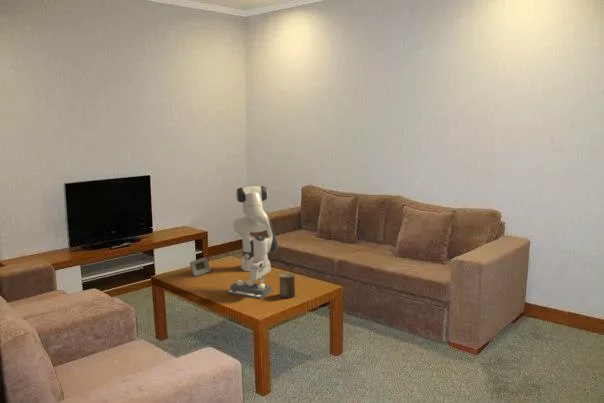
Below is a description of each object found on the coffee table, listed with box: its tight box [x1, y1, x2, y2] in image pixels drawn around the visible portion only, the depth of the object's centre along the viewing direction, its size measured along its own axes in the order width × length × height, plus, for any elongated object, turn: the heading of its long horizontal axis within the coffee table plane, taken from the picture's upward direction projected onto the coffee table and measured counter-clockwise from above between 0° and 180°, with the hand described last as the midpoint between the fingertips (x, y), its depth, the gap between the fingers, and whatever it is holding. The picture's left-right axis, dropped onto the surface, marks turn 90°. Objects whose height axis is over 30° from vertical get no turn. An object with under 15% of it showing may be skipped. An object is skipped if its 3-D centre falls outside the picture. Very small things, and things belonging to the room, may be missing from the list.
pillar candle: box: [278, 272, 296, 299], centre depth 307 cm, size 10×10×15 cm
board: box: [226, 281, 273, 300], centre depth 314 cm, size 15×25×4 cm, turn 65°
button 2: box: [246, 278, 255, 287], centre depth 315 cm, size 4×4×4 cm
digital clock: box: [189, 256, 211, 277], centre depth 353 cm, size 16×9×11 cm, turn 133°
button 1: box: [236, 279, 244, 286], centre depth 318 cm, size 4×4×4 cm
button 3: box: [257, 282, 266, 289], centre depth 312 cm, size 4×4×4 cm
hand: (261, 282), depth 311 cm, fingers closed
